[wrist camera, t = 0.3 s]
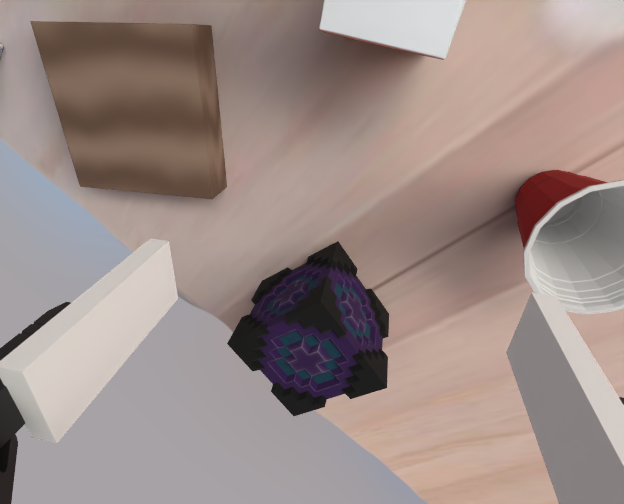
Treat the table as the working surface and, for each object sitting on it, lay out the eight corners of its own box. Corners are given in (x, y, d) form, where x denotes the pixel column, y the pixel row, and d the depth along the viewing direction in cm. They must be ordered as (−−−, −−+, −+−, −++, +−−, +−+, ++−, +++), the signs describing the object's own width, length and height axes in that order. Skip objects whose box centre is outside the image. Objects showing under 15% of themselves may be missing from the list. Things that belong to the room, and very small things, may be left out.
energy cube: (313, 343, 53) (293, 416, 43) (262, 280, 49) (227, 343, 39) (389, 313, 48) (386, 388, 38) (338, 241, 44) (320, 301, 34)
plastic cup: (637, 196, 36) (734, 260, 26) (532, 262, 41) (578, 337, 31) (569, 115, 34) (644, 148, 23) (467, 195, 39) (492, 252, 29)
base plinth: (63, 22, 38) (30, 21, 35) (211, 25, 36) (191, 24, 32) (103, 175, 46) (80, 186, 43) (226, 186, 44) (212, 199, 40)
